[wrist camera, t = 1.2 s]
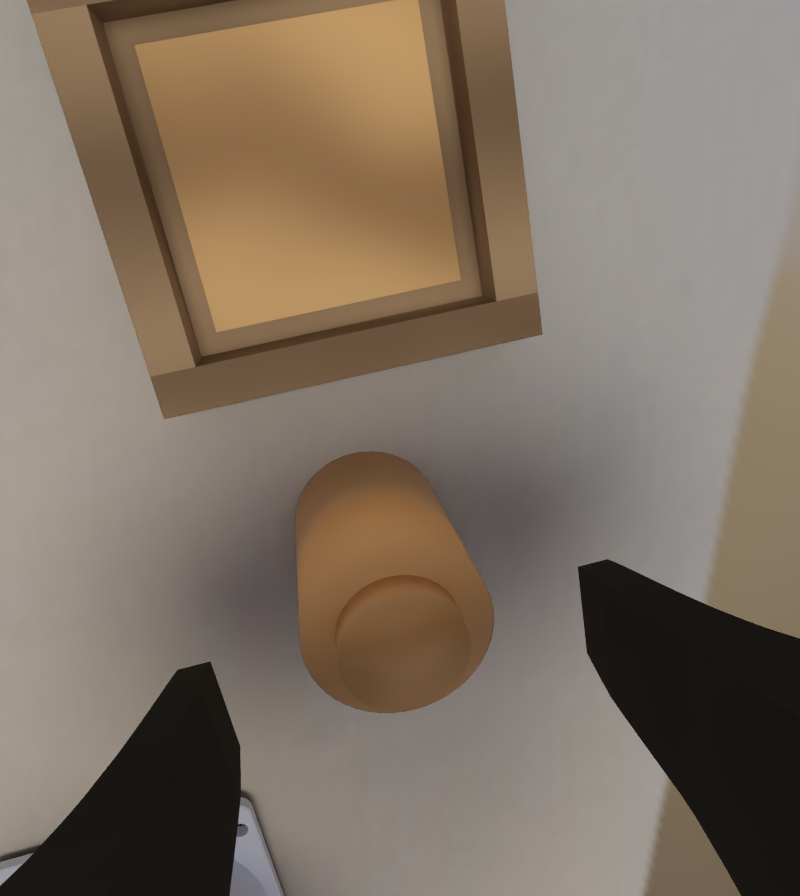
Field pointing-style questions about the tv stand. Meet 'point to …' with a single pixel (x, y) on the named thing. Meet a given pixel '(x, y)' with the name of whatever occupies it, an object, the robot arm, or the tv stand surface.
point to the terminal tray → (299, 183)
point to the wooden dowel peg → (385, 587)
